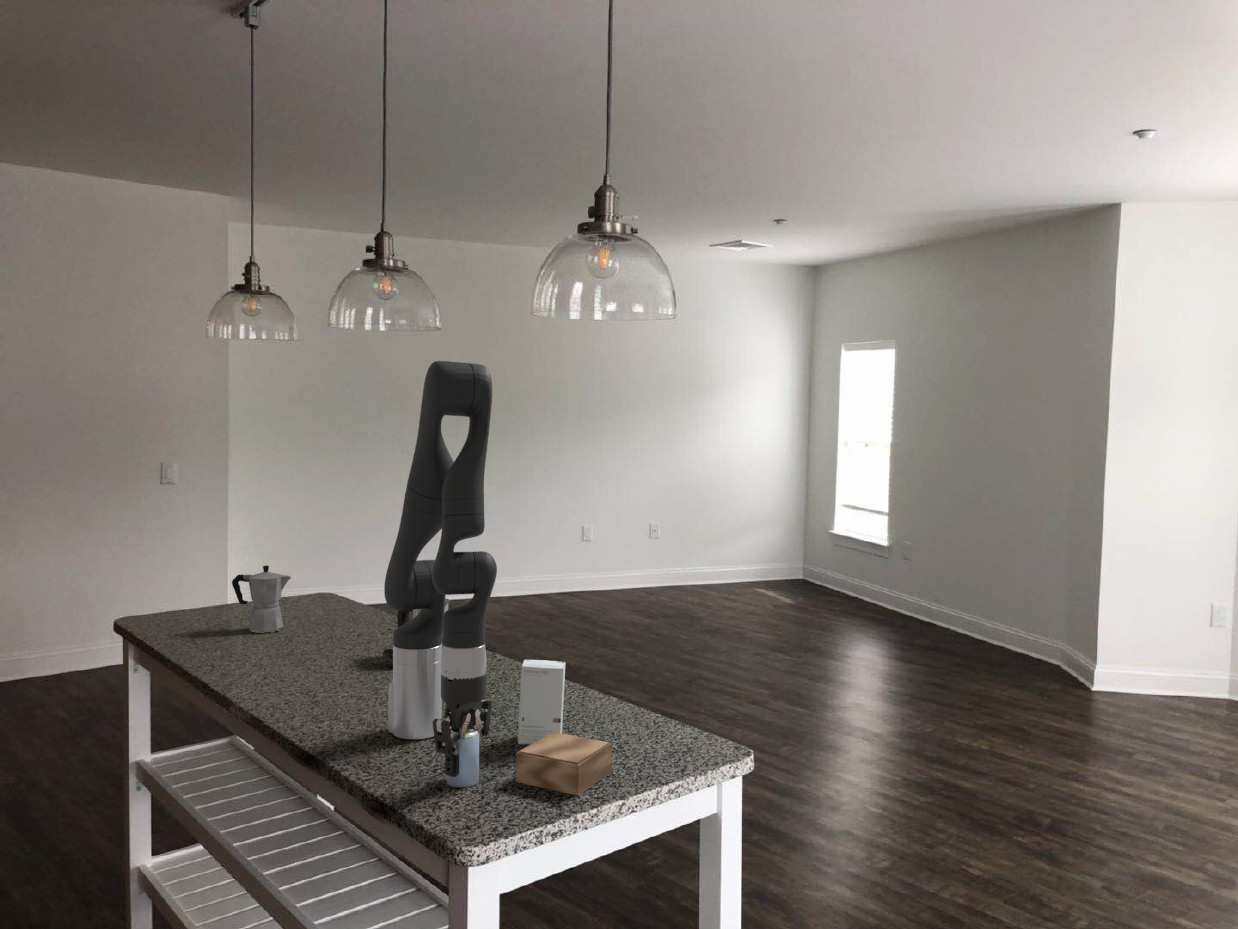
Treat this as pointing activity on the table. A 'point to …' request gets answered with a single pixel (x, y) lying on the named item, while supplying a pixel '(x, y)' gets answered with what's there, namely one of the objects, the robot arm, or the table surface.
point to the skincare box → (540, 699)
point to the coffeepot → (263, 598)
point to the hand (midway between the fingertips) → (462, 769)
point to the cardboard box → (564, 763)
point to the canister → (467, 761)
